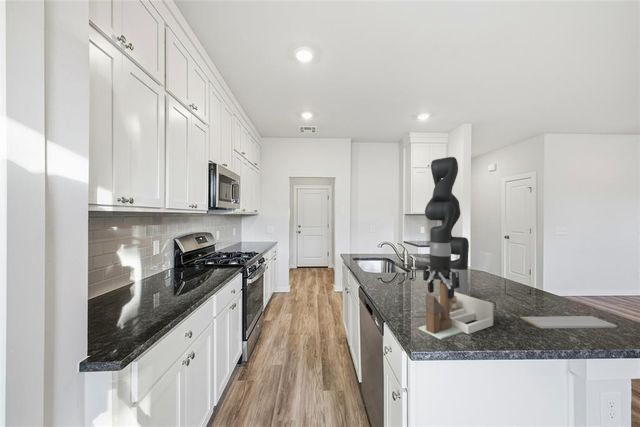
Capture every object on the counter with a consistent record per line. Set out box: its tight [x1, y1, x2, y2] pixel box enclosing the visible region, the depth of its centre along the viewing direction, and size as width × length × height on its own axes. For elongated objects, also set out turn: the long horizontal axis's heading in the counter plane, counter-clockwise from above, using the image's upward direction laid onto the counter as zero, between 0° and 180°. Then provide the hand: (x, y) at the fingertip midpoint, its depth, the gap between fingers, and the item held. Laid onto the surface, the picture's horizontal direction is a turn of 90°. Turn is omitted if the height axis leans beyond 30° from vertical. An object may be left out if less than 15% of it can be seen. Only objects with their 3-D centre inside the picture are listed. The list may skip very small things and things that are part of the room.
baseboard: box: [519, 312, 618, 329], centre depth 109 cm, size 31×3×12 cm
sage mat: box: [418, 324, 463, 340], centre depth 101 cm, size 12×10×1 cm
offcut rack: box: [439, 292, 494, 335], centre depth 110 cm, size 16×19×9 cm
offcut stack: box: [438, 294, 458, 312], centre depth 115 cm, size 9×5×9 cm, turn 118°
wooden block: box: [425, 280, 451, 333], centre depth 101 cm, size 4×11×18 cm, turn 119°
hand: (440, 295), depth 101 cm, fingers open, 8 cm apart
